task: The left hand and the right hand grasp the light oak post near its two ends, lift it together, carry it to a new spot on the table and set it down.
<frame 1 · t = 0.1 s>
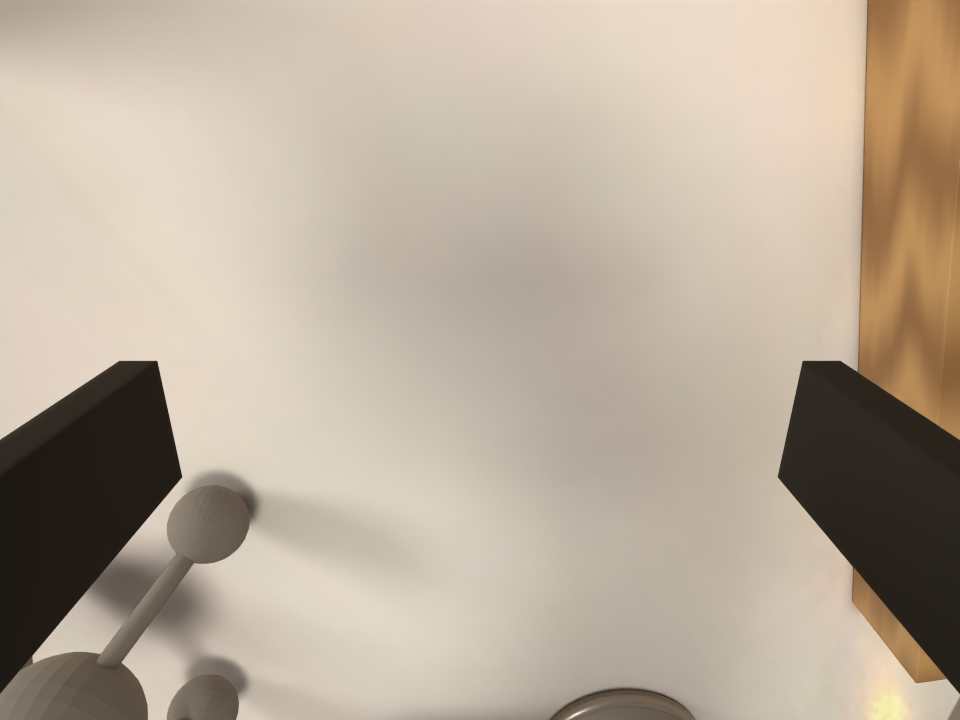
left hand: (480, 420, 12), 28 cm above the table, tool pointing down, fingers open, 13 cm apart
molecular model: (177, 568, 49), on the table
post: (903, 163, 37), on the table
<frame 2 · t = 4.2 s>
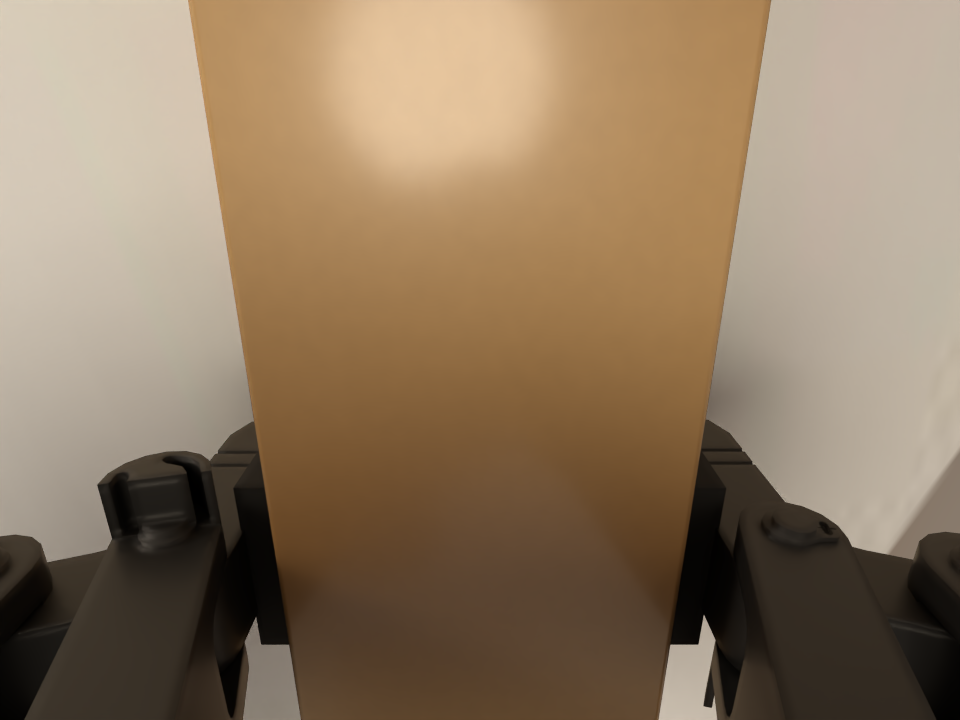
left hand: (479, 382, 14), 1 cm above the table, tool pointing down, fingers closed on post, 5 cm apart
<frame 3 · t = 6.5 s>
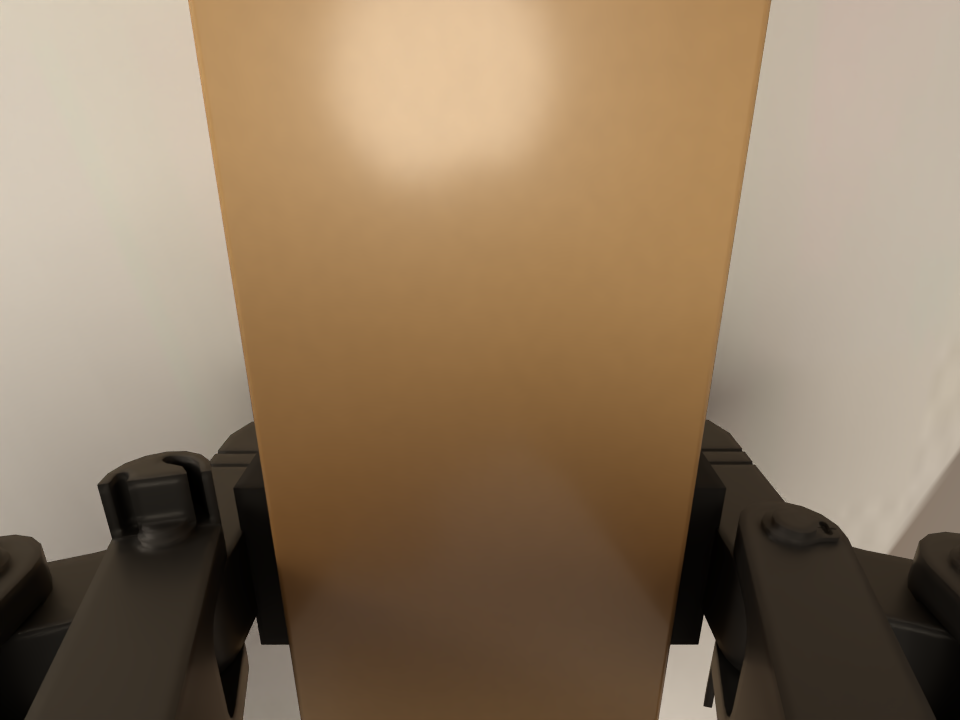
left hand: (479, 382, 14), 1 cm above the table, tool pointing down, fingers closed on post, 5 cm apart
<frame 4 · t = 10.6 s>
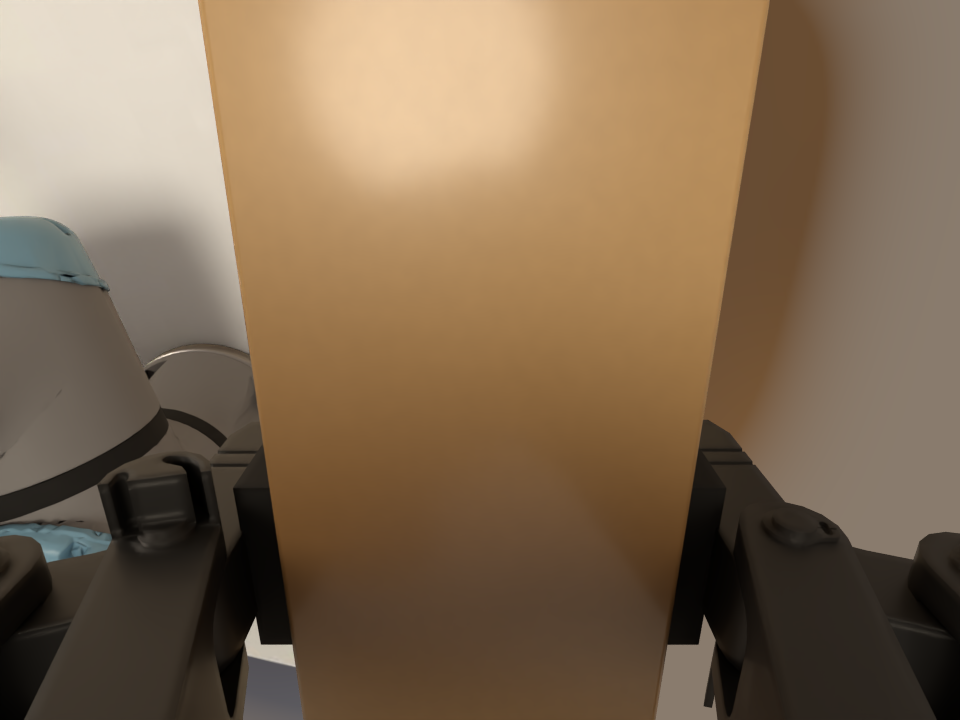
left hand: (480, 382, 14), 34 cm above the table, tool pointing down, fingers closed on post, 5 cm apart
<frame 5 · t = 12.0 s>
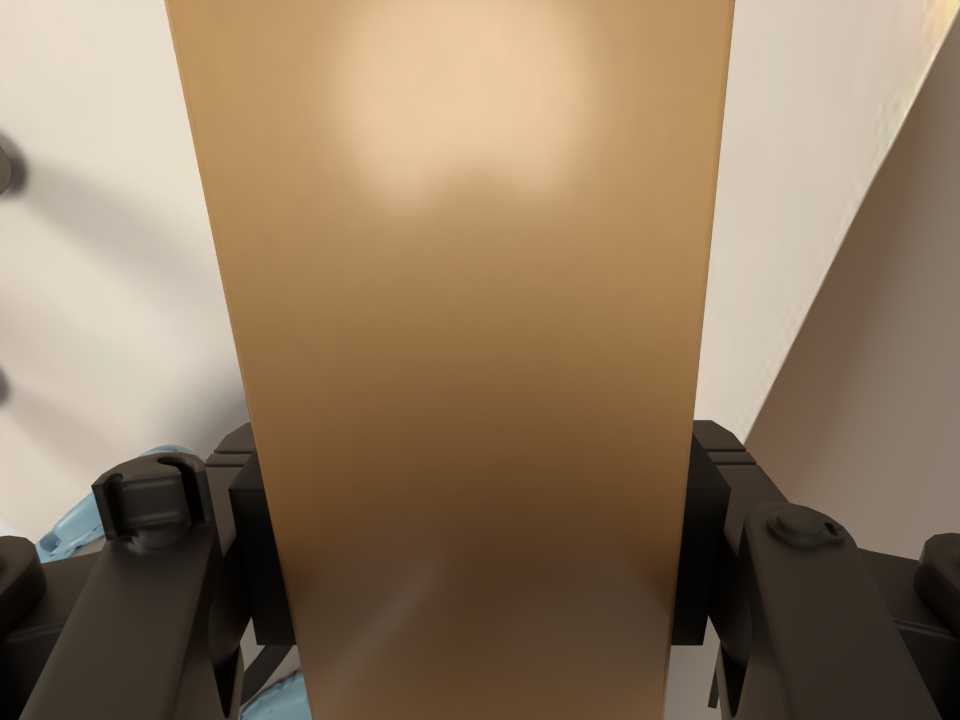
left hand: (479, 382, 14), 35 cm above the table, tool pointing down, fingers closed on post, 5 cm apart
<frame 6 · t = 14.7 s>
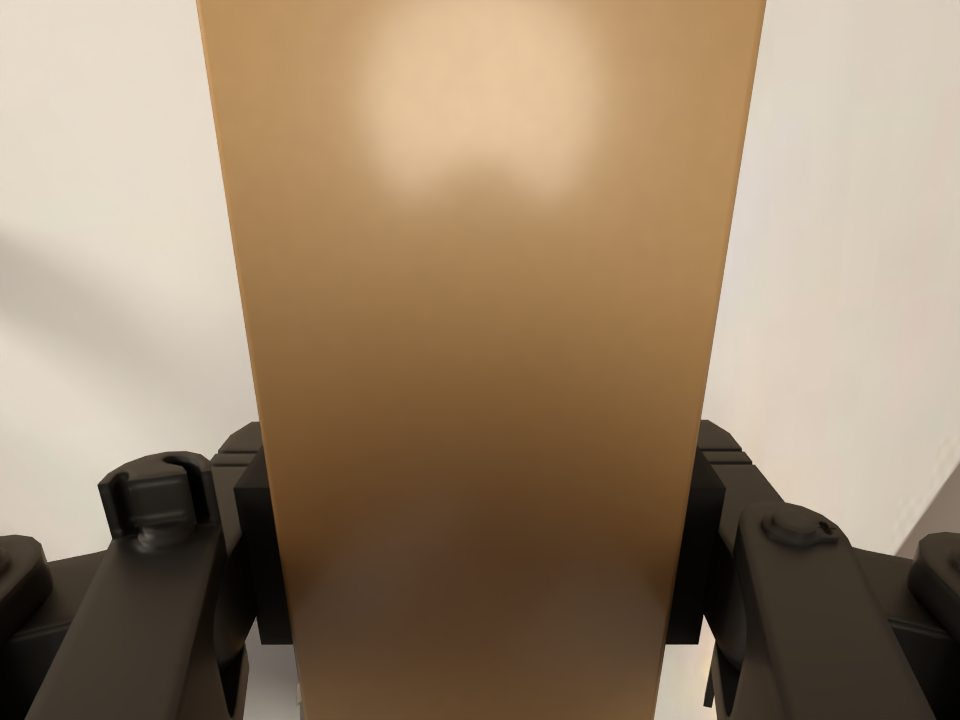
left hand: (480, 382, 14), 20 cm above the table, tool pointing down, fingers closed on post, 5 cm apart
when the left hand's fingers open (2 cm above the table, at t = 17.4 s): post drops 1 cm, on the table.
when the right hand's fingers open (4 cm above the table, at t = 17.4 s): post drops 1 cm, on the table.
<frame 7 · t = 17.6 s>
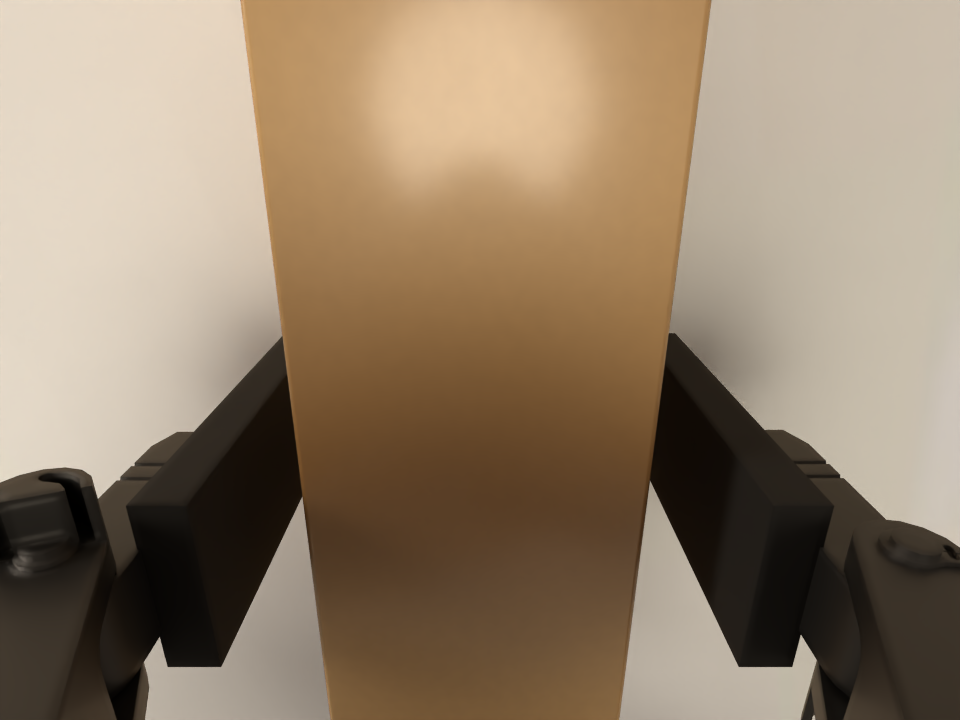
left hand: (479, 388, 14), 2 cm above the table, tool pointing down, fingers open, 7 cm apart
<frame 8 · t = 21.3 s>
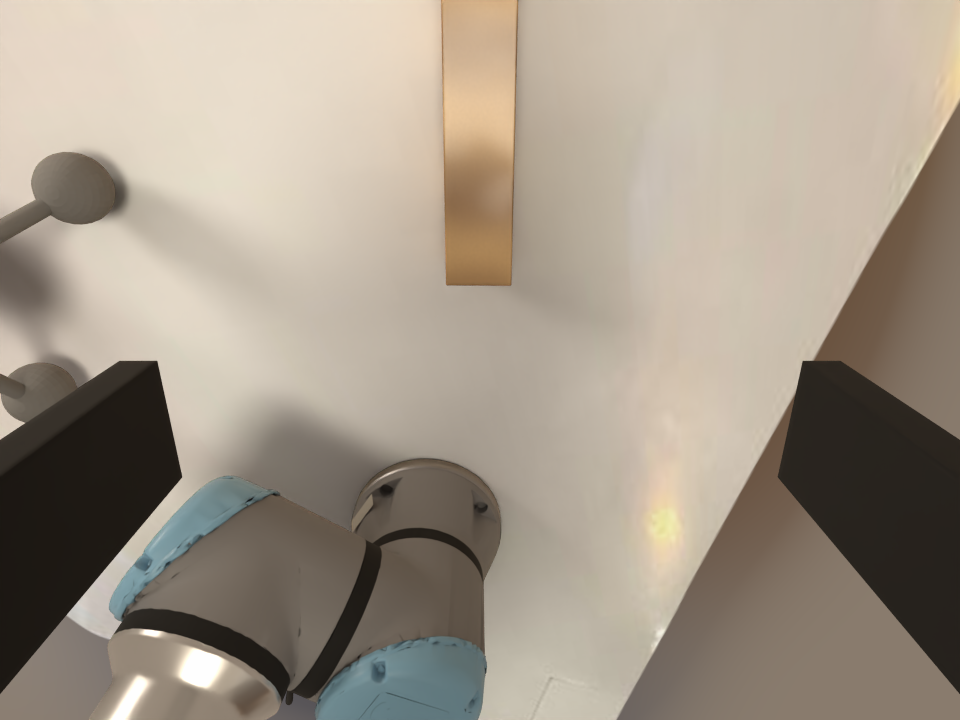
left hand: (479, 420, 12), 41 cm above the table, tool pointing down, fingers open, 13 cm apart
molecular model: (40, 249, 52), on the table
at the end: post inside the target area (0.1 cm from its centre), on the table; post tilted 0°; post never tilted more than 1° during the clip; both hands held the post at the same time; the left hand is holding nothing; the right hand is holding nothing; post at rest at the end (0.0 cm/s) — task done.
